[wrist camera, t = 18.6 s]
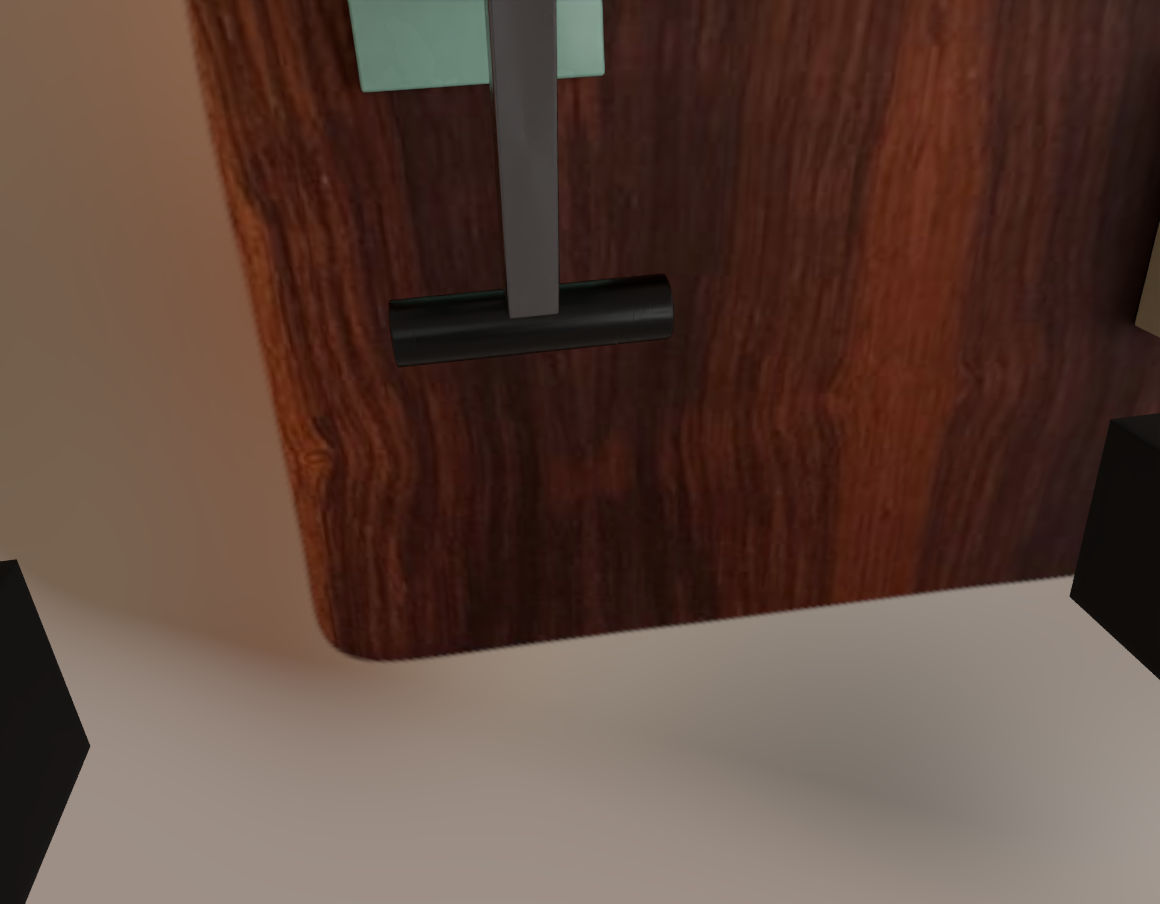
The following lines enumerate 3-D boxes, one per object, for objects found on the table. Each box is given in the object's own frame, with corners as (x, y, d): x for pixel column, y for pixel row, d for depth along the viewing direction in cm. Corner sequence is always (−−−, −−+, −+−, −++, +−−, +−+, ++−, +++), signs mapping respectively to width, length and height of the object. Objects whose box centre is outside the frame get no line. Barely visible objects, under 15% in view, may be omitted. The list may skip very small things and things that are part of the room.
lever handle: (652, 298, 22) (676, 366, 20) (395, 323, 21) (399, 397, 20) (710, -396, 13) (760, -370, 11) (266, -391, 12) (253, -363, 11)
